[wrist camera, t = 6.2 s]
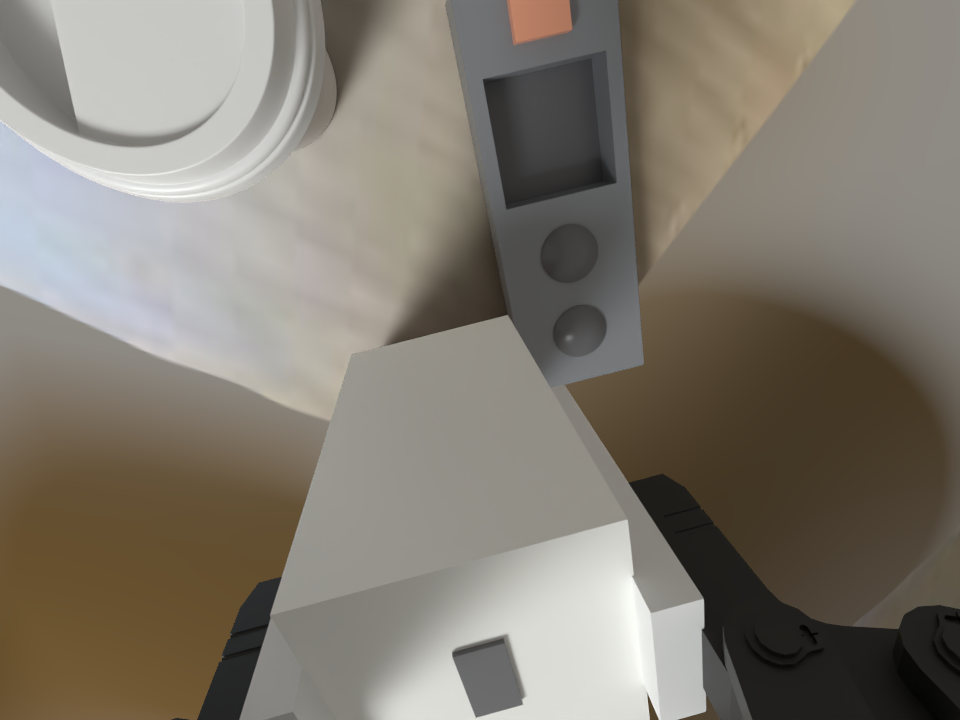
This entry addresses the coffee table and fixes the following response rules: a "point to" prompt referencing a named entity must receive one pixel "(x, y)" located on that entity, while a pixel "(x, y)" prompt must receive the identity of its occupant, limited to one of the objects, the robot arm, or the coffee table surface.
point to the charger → (461, 546)
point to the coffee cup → (166, 89)
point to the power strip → (555, 175)
